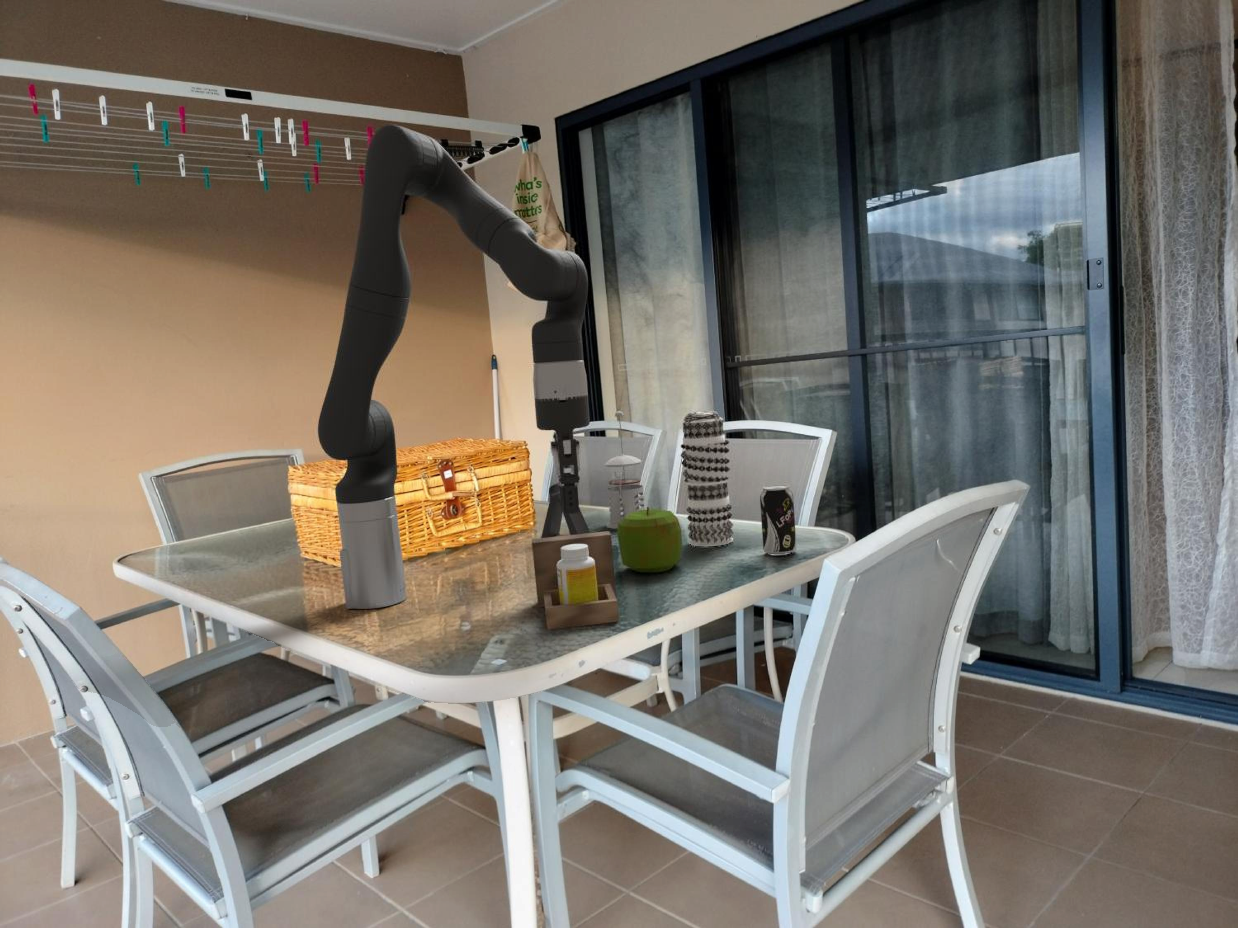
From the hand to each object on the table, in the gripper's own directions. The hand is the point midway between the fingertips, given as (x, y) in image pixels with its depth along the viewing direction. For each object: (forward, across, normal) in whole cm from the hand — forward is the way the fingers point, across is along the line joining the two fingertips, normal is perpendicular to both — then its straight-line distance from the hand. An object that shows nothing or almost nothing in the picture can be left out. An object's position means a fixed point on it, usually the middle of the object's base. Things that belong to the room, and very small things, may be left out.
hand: (569, 508), depth 128 cm
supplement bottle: (+16, 0, 0) cm, 16 cm away
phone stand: (+16, -58, +1) cm, 60 cm away
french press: (+16, -67, +15) cm, 70 cm away
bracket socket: (+16, -3, 0) cm, 16 cm away
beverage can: (+16, -25, +37) cm, 47 cm away
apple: (+16, -24, +14) cm, 32 cm away
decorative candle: (+16, -40, +28) cm, 51 cm away
